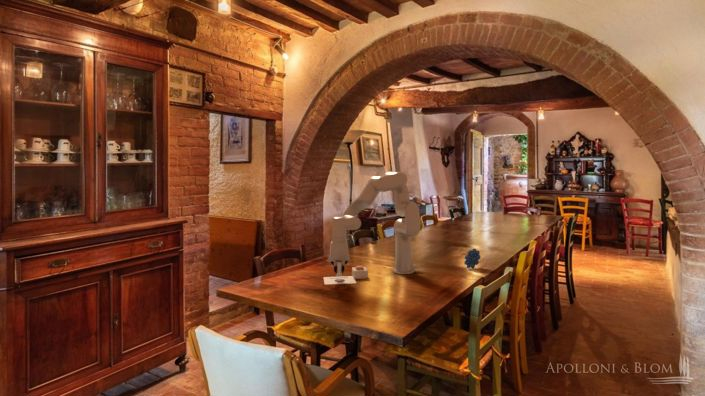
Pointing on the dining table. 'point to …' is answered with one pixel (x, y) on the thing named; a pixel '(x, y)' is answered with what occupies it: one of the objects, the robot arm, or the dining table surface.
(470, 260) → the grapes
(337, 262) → the marker
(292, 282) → the dining table surface
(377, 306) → the dining table surface
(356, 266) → the button
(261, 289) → the dining table surface
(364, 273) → the button housing
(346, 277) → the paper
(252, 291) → the dining table surface
